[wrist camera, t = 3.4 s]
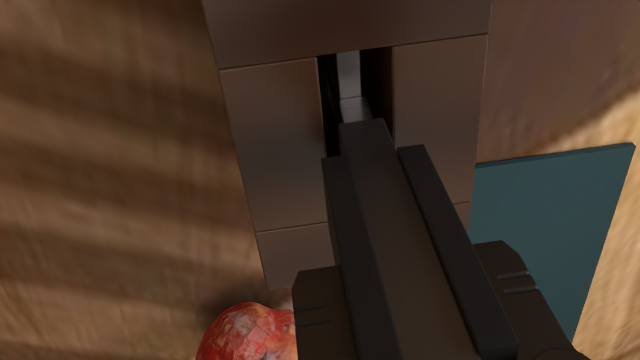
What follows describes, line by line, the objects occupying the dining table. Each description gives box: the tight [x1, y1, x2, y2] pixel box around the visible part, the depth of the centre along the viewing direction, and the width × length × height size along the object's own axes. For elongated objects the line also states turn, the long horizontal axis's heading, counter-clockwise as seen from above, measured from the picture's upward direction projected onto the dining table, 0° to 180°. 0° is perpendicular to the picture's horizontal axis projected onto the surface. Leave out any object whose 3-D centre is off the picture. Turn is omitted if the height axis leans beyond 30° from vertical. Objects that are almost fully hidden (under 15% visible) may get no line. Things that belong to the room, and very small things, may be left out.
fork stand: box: [201, 0, 493, 291], centre depth 20 cm, size 13×8×7 cm, turn 5°
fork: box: [324, 50, 481, 360], centre depth 15 cm, size 6×2×20 cm, turn 5°
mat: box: [468, 142, 636, 344], centre depth 33 cm, size 18×12×1 cm
